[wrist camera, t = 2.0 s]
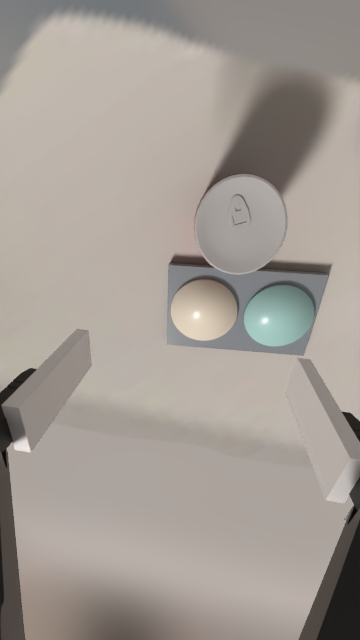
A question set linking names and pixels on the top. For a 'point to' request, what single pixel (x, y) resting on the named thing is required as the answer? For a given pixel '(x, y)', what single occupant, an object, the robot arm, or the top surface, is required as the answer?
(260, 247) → the canned food
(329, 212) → the top surface
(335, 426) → the robot arm
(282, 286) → the pad
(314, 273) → the board
